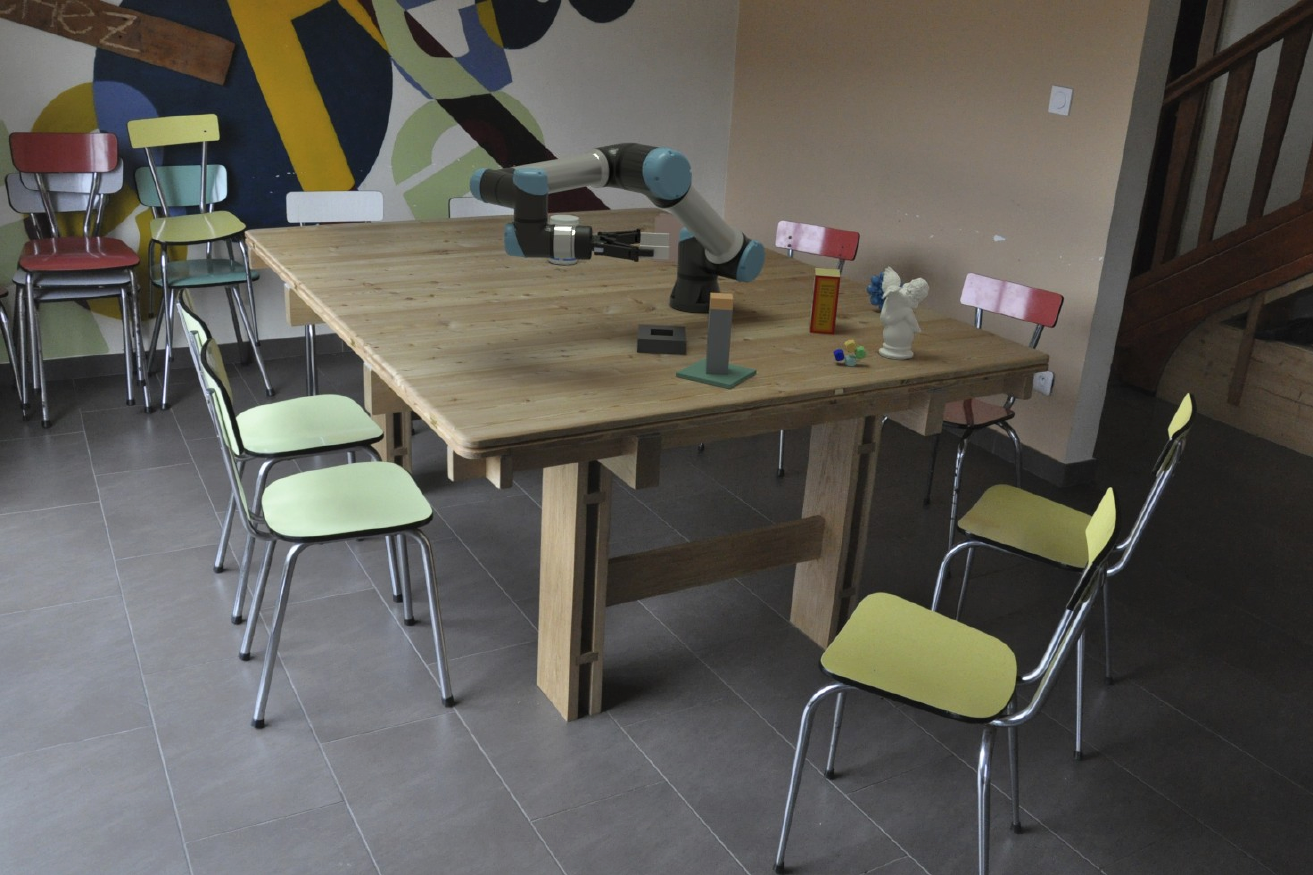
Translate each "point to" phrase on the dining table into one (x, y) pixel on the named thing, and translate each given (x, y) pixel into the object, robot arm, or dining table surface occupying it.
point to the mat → (726, 381)
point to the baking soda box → (824, 300)
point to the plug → (719, 333)
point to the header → (661, 339)
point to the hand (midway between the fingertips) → (669, 246)
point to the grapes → (877, 290)
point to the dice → (850, 347)
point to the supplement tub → (564, 221)
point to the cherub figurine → (900, 314)
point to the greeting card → (671, 227)
